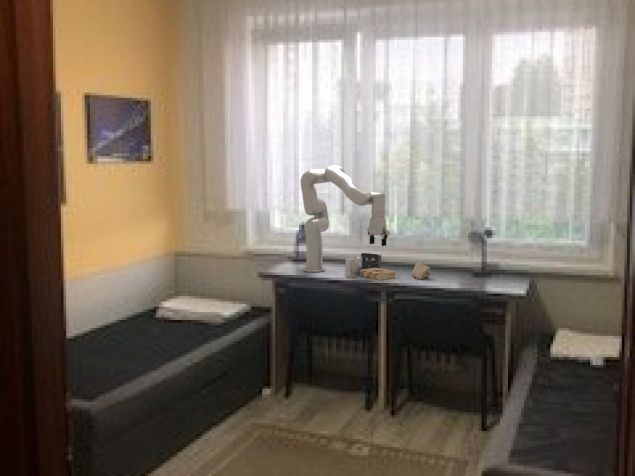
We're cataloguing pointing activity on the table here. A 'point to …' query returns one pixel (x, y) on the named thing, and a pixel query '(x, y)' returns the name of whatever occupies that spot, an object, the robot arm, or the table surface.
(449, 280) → the table surface
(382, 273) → the bore block
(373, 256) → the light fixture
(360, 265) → the round bit
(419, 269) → the decorative stone
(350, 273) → the square bit
